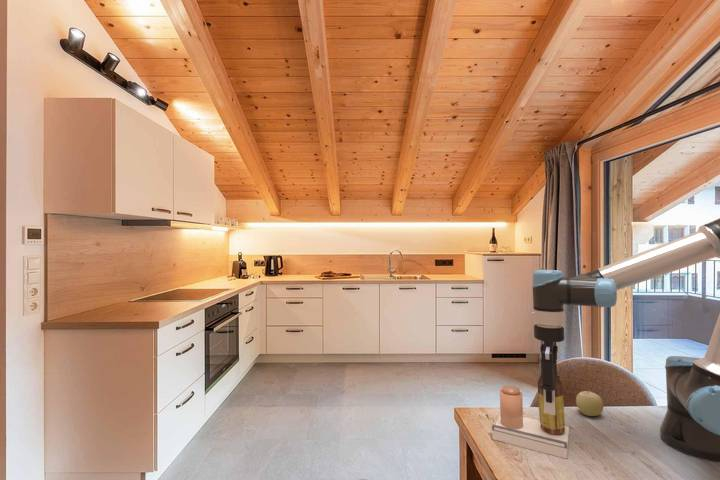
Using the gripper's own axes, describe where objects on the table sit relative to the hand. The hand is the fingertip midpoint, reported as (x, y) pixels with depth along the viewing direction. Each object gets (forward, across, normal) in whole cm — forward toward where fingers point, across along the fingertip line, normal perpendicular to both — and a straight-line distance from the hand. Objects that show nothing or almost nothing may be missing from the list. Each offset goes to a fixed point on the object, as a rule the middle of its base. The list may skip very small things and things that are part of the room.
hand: (551, 407), depth 99 cm
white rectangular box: (+9, +2, -5) cm, 10 cm away
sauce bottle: (+6, 0, 0) cm, 6 cm away
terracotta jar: (+6, +2, -10) cm, 12 cm away
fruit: (+9, -23, +9) cm, 26 cm away
